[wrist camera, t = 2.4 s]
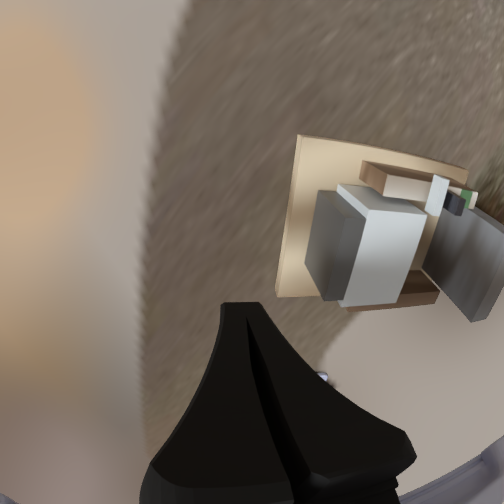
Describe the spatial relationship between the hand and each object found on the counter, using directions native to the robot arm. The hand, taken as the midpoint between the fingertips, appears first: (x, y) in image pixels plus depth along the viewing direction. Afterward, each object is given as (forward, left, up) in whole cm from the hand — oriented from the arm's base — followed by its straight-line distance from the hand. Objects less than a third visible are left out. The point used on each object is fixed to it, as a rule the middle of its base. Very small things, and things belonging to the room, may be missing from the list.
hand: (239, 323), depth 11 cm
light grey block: (+1, -8, -8) cm, 12 cm away
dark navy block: (+4, -12, -5) cm, 14 cm away
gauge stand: (0, -11, -10) cm, 15 cm away
